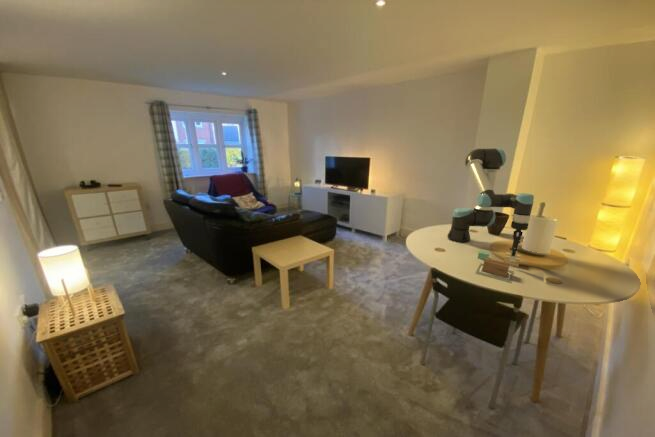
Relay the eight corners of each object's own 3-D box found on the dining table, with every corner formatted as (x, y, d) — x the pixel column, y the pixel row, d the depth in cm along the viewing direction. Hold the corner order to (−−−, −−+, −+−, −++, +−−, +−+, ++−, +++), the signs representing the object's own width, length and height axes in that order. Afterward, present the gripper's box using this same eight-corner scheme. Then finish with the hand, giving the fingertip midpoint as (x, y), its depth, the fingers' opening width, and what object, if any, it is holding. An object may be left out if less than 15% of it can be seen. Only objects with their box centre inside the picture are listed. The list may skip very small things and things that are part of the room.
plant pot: (503, 232, 205) (507, 212, 200) (507, 238, 192) (511, 217, 187) (482, 229, 211) (485, 210, 206) (484, 235, 198) (487, 215, 193)
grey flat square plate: (480, 265, 149) (480, 262, 149) (513, 273, 139) (514, 271, 139) (474, 275, 137) (475, 273, 137) (511, 285, 127) (511, 283, 127)
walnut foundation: (483, 267, 143) (485, 257, 141) (507, 273, 136) (509, 263, 135) (482, 271, 139) (484, 261, 137) (506, 277, 132) (508, 267, 131)
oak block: (504, 261, 154) (506, 252, 152) (518, 264, 149) (520, 255, 148) (502, 265, 148) (504, 256, 147) (517, 269, 144) (520, 259, 142)
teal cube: (478, 257, 159) (480, 250, 158) (488, 259, 156) (489, 252, 155) (477, 260, 155) (478, 252, 154) (486, 262, 152) (488, 254, 151)
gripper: (513, 216, 153) (507, 249, 159) (510, 225, 134) (502, 262, 140) (529, 218, 149) (522, 252, 154) (528, 228, 130) (519, 266, 135)
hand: (513, 257), depth 147 cm, fingers open, 13 cm apart
